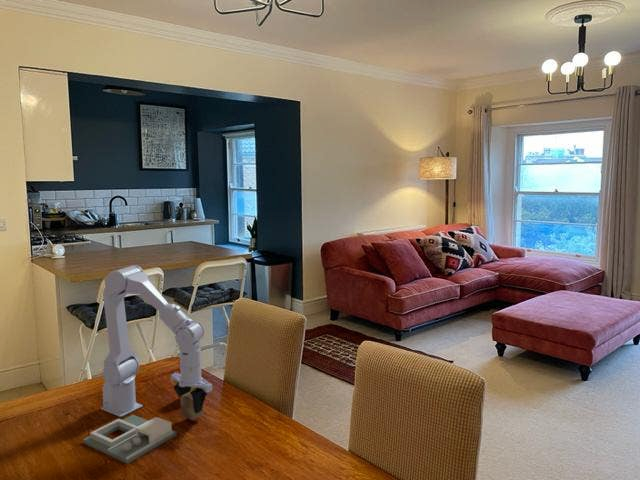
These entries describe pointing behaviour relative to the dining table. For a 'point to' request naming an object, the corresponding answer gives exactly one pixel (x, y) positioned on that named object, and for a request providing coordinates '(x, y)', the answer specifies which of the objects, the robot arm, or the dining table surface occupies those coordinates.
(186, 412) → the block
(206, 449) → the dining table surface
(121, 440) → the housing board
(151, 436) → the cover
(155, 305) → the robot arm
